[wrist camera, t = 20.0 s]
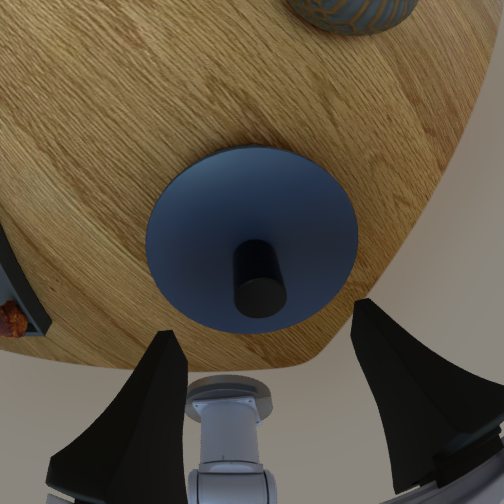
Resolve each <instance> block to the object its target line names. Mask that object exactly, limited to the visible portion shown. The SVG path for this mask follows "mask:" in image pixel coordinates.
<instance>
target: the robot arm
mask: <svg viewBox="0 0 504 504" xmlns="http://www.w3.org/2000/svg"><path fill="white" fill-rule="evenodd" d="M350 336H351V340H352V343H353V346H354V350H355V353H356V356H357V359H358V361H359V363H360V366H361V368H362V370H363V372H364V374H365V377H366V379H367V382H368V384H369V386H370V389H371V391H372V393H373V396H374V398H375V401H376V403H377V406H378V409H379V413H380V417H381V420H382V424H383V428H384V432H385V436H386V441H387V445H388V451H389V457H390V462H391V470H392V478H393V487H394V491H395V494H396V495H397V494H400V493H401V492H404V491H407V490H409V489H411V488H414V487H416V486H418V485H420V488H417V489H415V490H413V491H411V492H408V493H406V494H404V495H401V496H399V497H396V498H393V499H391V500H388V501H386V502H383V503H380V504H500V503H501V502H502V501H503V500H504V437H502V438H501V439H500V437H499V433H501V428H500V426H499V425H500V424H501V423H502V422H503V421H504V385H501V384H498V383H495V382H492V381H489V380H486V379H484V378H481V377H479V376H476V375H474V374H472V373H470V372H468V371H466V370H464V369H462V368H460V367H458V366H456V365H454V364H453V363H451V362H449V361H447V360H446V359H444V358H443V357H441V356H439V355H438V354H436V353H435V352H433V351H432V350H430V349H429V348H428V347H426V346H425V345H423V344H422V343H421V342H420V341H418V340H417V339H416V338H414V337H413V336H412V335H411V334H409V333H408V332H407V331H406V330H405V329H403V328H402V327H401V326H400V325H399V324H398V323H396V322H395V321H394V320H393V319H392V318H391V317H390V316H389V315H387V314H386V313H385V312H384V311H383V310H382V309H381V308H380V307H379V306H377V305H376V304H375V303H374V302H373V301H371V299H369V298H366V299H361V300H357V301H355V303H354V311H353V319H352V327H351V334H350ZM187 386H188V361H187V359H186V357H185V355H184V353H183V351H182V349H181V347H180V345H179V343H178V341H177V339H176V337H175V335H174V332H173V330H166V331H158V332H157V334H156V335H155V337H154V339H153V340H152V342H151V344H150V345H149V347H148V349H147V350H146V352H145V353H144V355H143V357H142V358H141V360H140V362H139V363H138V365H137V366H136V368H135V370H134V371H133V373H132V374H131V376H130V378H129V379H128V380H127V382H126V383H125V385H124V386H123V387H122V389H121V391H120V392H119V393H118V394H117V396H116V397H115V398H114V400H113V401H112V402H111V404H110V405H109V406H108V407H107V408H106V409H105V411H104V412H103V413H102V414H101V415H100V416H99V417H98V418H97V419H96V420H95V421H94V422H93V423H92V424H91V425H90V427H88V429H86V430H85V431H84V432H83V433H82V434H81V435H80V436H79V437H77V438H76V439H75V440H74V441H73V442H71V443H70V444H69V445H68V446H66V447H65V448H64V449H62V450H61V451H59V452H58V453H56V454H55V455H53V456H52V457H51V459H50V463H49V467H48V472H47V477H46V482H45V483H46V484H47V485H48V486H49V487H51V488H53V489H55V490H57V491H59V492H61V493H64V494H66V495H68V496H71V497H73V498H75V502H74V503H72V502H70V501H67V500H64V499H62V498H59V497H57V496H54V495H52V494H48V495H47V502H46V504H277V488H276V482H275V478H274V476H273V474H272V473H271V472H269V470H263V464H260V463H259V453H258V442H257V431H256V426H260V425H262V423H261V419H260V416H259V412H258V409H257V406H256V403H255V399H254V397H253V396H252V395H247V396H239V397H229V398H218V399H204V400H193V401H192V405H193V406H194V408H195V409H196V411H197V412H198V414H199V415H200V417H201V455H200V464H199V472H198V469H193V471H192V472H190V473H189V476H188V500H187V494H186V486H185V478H184V466H183V443H182V436H183V421H184V413H185V404H186V395H187Z"/></svg>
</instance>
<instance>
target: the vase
mask: <svg viewBox="0 0 504 504" xmlns="http://www.w3.org/2000/svg"><path fill="white" fill-rule="evenodd" d="M288 2H289V4H290V5H291V6H292V8H293V9H294V10H295V11H296V12H297V13H298V14H299V15H300V16H301V17H303V18H304V19H305V20H307V21H308V22H310V23H311V24H313V25H315V26H317V27H319V28H321V29H323V30H326V31H329V32H332V33H336V34H341V35H348V36H365V35H372V34H376V33H380V32H384V31H386V30H389V29H391V28H393V27H395V26H397V25H398V24H400V23H401V22H402V21H404V20H405V19H406V18H407V17H408V16H409V15H410V14H411V12H412V11H413V10H414V8H415V7H416V5H417V2H418V0H288Z"/></svg>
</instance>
